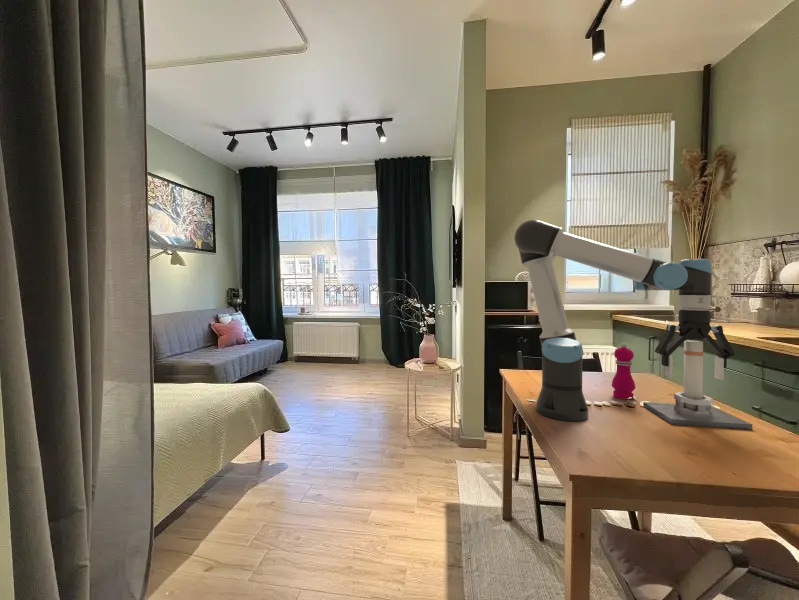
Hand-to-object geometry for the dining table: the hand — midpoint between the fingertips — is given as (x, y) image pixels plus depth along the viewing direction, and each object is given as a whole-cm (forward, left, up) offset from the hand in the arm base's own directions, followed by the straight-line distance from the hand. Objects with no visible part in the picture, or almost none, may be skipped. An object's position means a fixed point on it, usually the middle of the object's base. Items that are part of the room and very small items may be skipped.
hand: (693, 377), depth 104 cm
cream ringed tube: (0, 0, -11) cm, 11 cm away
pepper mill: (-12, +18, -12) cm, 25 cm away
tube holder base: (0, 0, -12) cm, 12 cm away
